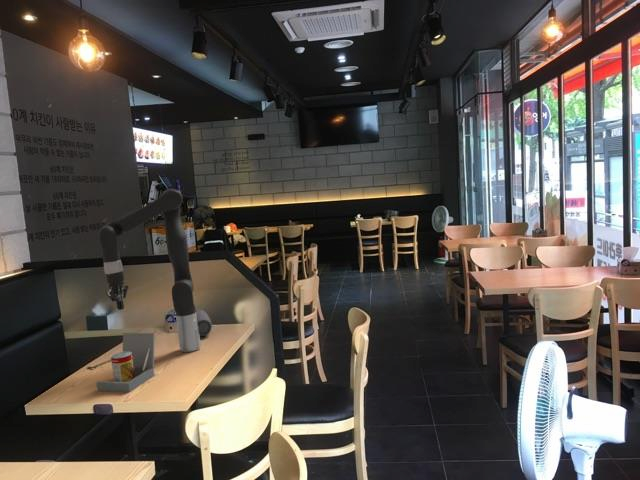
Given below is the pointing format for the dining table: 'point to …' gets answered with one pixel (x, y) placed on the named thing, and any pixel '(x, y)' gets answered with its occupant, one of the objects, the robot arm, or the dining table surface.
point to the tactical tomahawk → (98, 365)
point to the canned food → (123, 366)
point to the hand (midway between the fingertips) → (120, 309)
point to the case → (135, 362)
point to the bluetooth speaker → (203, 322)
